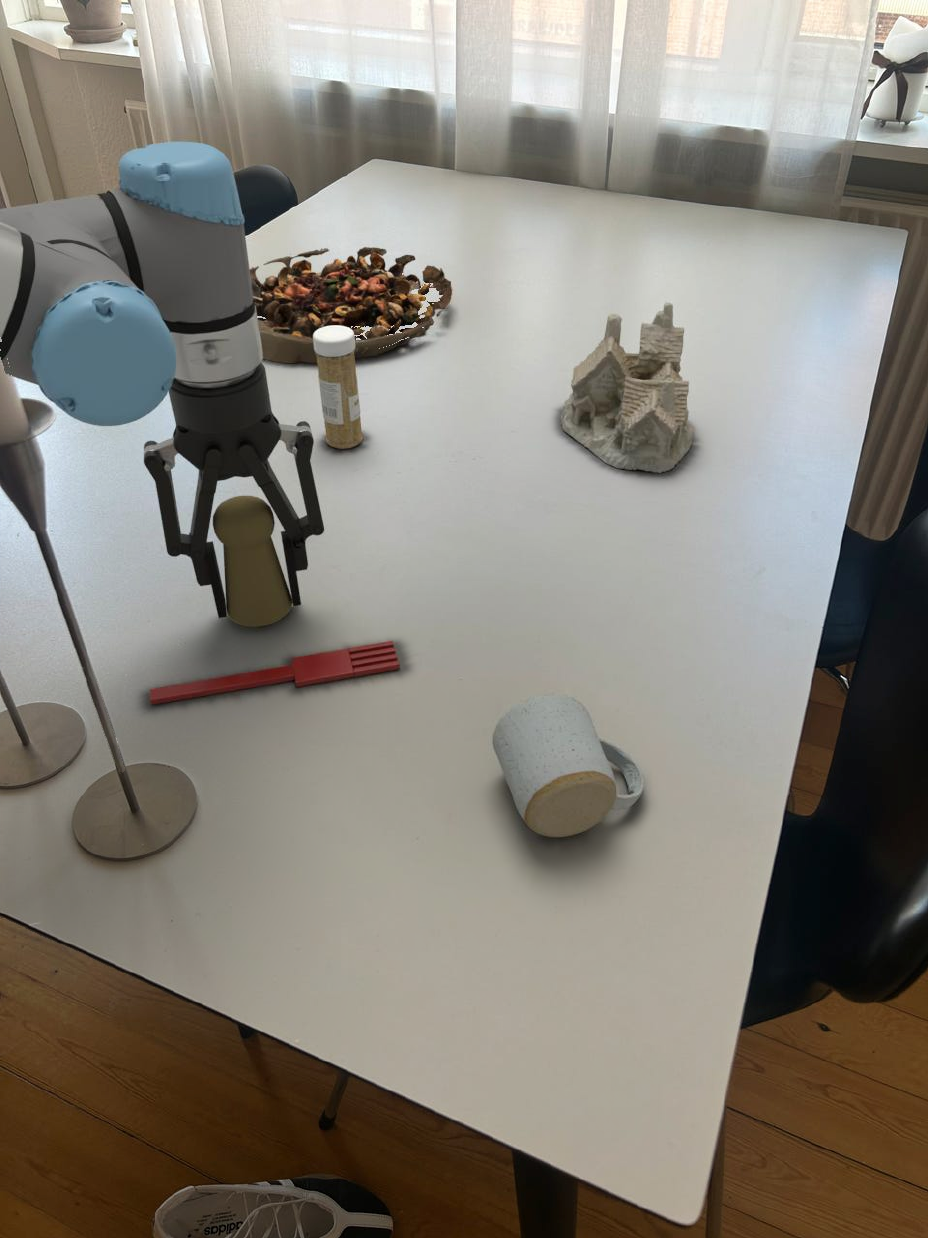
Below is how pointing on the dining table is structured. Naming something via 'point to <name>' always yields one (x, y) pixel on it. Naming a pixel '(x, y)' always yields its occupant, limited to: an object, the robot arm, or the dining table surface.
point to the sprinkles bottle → (338, 385)
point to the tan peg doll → (251, 562)
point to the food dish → (343, 304)
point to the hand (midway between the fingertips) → (258, 602)
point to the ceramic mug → (561, 766)
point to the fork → (292, 672)
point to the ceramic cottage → (632, 398)
